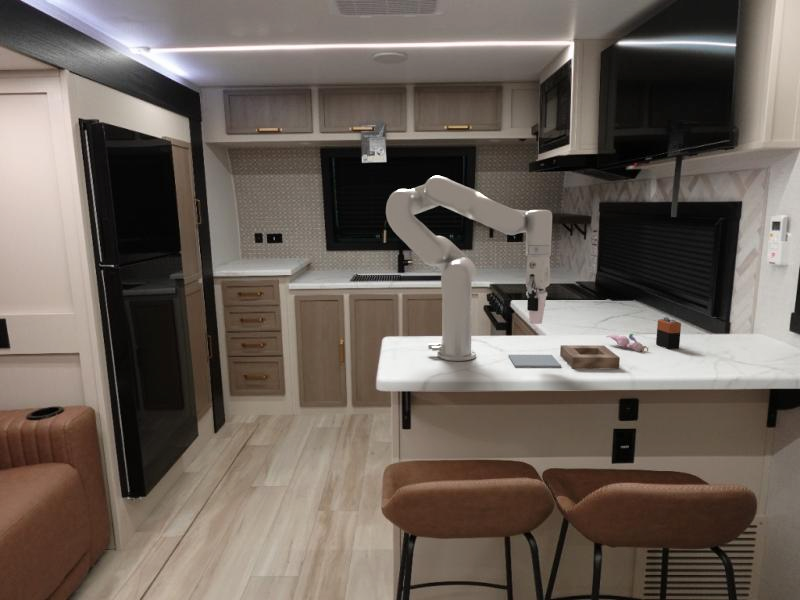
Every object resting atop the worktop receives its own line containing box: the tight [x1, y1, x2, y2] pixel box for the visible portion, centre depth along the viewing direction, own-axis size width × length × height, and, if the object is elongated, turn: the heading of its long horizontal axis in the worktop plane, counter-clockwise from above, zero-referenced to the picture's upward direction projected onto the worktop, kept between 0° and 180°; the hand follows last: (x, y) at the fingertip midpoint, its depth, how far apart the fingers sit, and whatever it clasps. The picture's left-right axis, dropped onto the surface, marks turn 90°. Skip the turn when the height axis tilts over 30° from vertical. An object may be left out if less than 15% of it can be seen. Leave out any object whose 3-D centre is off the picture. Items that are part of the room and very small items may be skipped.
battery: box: [655, 316, 682, 350], centre depth 183 cm, size 4×7×10 cm, turn 13°
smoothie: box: [525, 290, 548, 325], centre depth 164 cm, size 6×6×14 cm
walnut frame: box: [559, 344, 621, 370], centre depth 166 cm, size 14×14×4 cm
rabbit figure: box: [605, 333, 649, 353], centre depth 182 cm, size 6×6×15 cm
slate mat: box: [508, 354, 562, 368], centre depth 167 cm, size 14×12×1 cm
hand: (536, 308), depth 164 cm, fingers closed on smoothie, 6 cm apart
